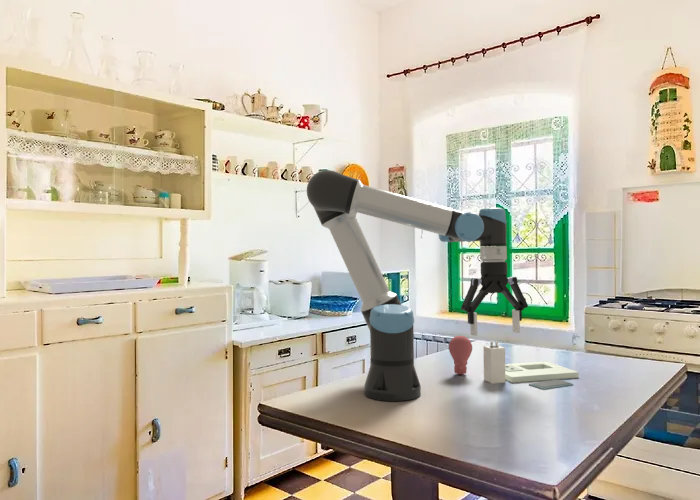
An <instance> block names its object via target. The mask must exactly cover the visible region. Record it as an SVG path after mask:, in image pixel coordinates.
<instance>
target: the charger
mask: <svg viewBox="0 0 700 500" xmlns="http://www.w3.org/2000/svg"><path fill="white" fill-rule="evenodd" d="M505 364H506V347H504V346H501V345H499V341H497V340H496V341H495V345H494V341H490V345H484V346H483V381H486V382H487V383H489V384H493V385H494V384H504V383H506V380H505Z"/></svg>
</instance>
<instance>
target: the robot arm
mask: <svg viewBox="0 0 700 500" xmlns="http://www.w3.org/2000/svg"><path fill="white" fill-rule="evenodd" d="M306 185H307V187H306V196H307V199H308V202H309V203H310V204H311V206H312V207H313V209H314V211H315V213H316V216H317V218H318V220H319V222H320V224H321V226H322V227H324V228H326V229H328V230H329V231H330V234H331V236H332V238H333V240H334V243H335V245H336V247H337V249H338V252H339V253H340V255H341V258H342V260H343V263H344V264H345V266H346V269H347V271H348V274H349V275H350V277H351V280H352V282H353V285H354V287H355V288H356V291H357V293H358V295H359V298H360V300H361V302H362V305H361V307H360V312H361V314H362V316H363V318H364V321H365V323H366V325H367V327H368V329H369V334H370V335H369V336H370V337H369V338H370V342H369V344H370V366H369V370H368V373H367V376H366V379H365V382H364V386H363V387H364V388H363V389H364V390H363V391H364V395H365V397H367V398H369V399H372V400H375V401H383V402H402V401H411V400H414V399H417V398H419V397H420V396H421V394H422V390H421V389H422V388H421V384H420V380H419V377H418V374H417V371H416V368H415V357H414V356H415V353H414V352H415V348H414V347H415V346H414V344H415V343H414V342H415V341H414V333H415V332H414V324H415V318H414V311H413V309H411V308H410V307H409V306H406V305H402V302H401V300H400V299H399V297H398V295H397V293H395V292H393V291H390V289H389V287H388V285H387V282H386V281H385V277H384V276H383V273H382V271H381V270H380V267H379V265H378V263H377V260H376V258H375V256H374V254H373V252H372V249H371V247H370V246H369V242H368V241H367V239H366V236H365V234H364V232H363V230H362V227H361V226H360V223H359V221H358V218H357V214H363V215H365V216H370V217H374V218H377V219H382V220H384V221H389V222H392V223H397V224H399V225H404V226H408V227H411V228H414V229H419V230H423V231H427V232H430V233H434V234H437V235H438V239H439V241H440V242H442V243H443V242H444V243H453V242H454V243H455V242H456V243H460V242H461V243H462V242H468V243H472V242H479V246H480V247H479V248H480V249H479V255H480V256H479V257H480V258H479V259H480V260H481V261H482V262H480V275H481V276H480V278H474V277H473V278H471V279H470V284H469V285H470V286H469V288H468V290H467V293H466V295H465V298H464V300H463V302H462V304H461V307H460V309H461V311H464V312H466V313H467V323H468V324H469V326H470V335H471V336H474V337H477V336H478V313H477V312H475V311H476V310H477V309H478V308H479V306H480V304H481V303H482V302H483V300H484V299H485V297H486V296H487V295H488V294H502V295H503V296H504V297H505V298H506V300H507V302H509V304H510V305H511V306H512V307H513V308H514V309H512V310H511V315H512V318H511V320H512V332H513V333H515V334H520V333H521V328H520V327H521V325H520V324H521V321H522V320H523V316H522V315H523V313H522V312H523V311H524V310H525V309H526V308H528V307H529V305H528V302H527V300H526V299H525V296H524V294H523V292H522V290H521V288H520V286H519V284H518V277H517V276H509V277H508V275H507V274H508V263H507V259H508V255H507V254H508V252H507V249H508V247H507V224H508V223H507V219H506V218H507V217H506V210H505V209H503V208H501V207H489V208H488V207H486V208H480V209H479V211H478V214H477V213H474V212H471V211H465V212H464V211H461V210H458V209H453V208H451V207H447V206H443V205H439V204H437V203H432V202H429V201H425V200H422V199H417V198H413V197H409V196H407V195H406V196H405V195H403V194H399V193H395V192H391V191H387V190H384V189H380V188H376V187H372V186H369V185H366V184H363V183H362V182H361V180H360V179H357V178H354V177H350V176H347V175H346V174H342V173H340V172H338V171H335V170H329V169H326V170H320V171H318V172H316V173H314V174H313V175H312V176H311V178H310V179H309V180H308V182H307V184H306ZM507 285H510V288H511V291H512V292H511V291H510V289H509V288H508V287H507ZM480 286H481V288H480V289H479V291H478V293H477V290H478V287H480ZM476 293H477V295H476V296H475V294H476ZM513 294H514V295H513ZM514 296H515V297H514ZM474 297H475V298H474Z"/></svg>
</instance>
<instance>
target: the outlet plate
mask: <svg viewBox="0 0 700 500" xmlns="http://www.w3.org/2000/svg"><path fill="white" fill-rule="evenodd" d="M579 377H580V375H579V371H577V370H573V369H570V368H568V367H565V366H561V365H559V364H556V363H553V362H550V361H548V360H547V361H546V360H545V361H531V362H530V361H529V362H521V363H520V362H518V363H505V381H508V382H511V383H513V384H514V383H525V382H538V381H539V382H541V381H551V380H558V379H559V380H561V379H562V380H564V379H574V378H575V379H576V378H579Z"/></svg>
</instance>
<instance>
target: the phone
mask: <svg viewBox="0 0 700 500" xmlns="http://www.w3.org/2000/svg"><path fill="white" fill-rule="evenodd" d="M528 385H529V386H530V387H534V388H537V389H540V390H544V391H545V390H551V389H556V388H563V387H570V386H571V387H572V386H574V383H572V382H569V381H566V380H563V379H562V380H561V379H552V380H543V381H539V382H538V381H536V382H531V383H528Z"/></svg>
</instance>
